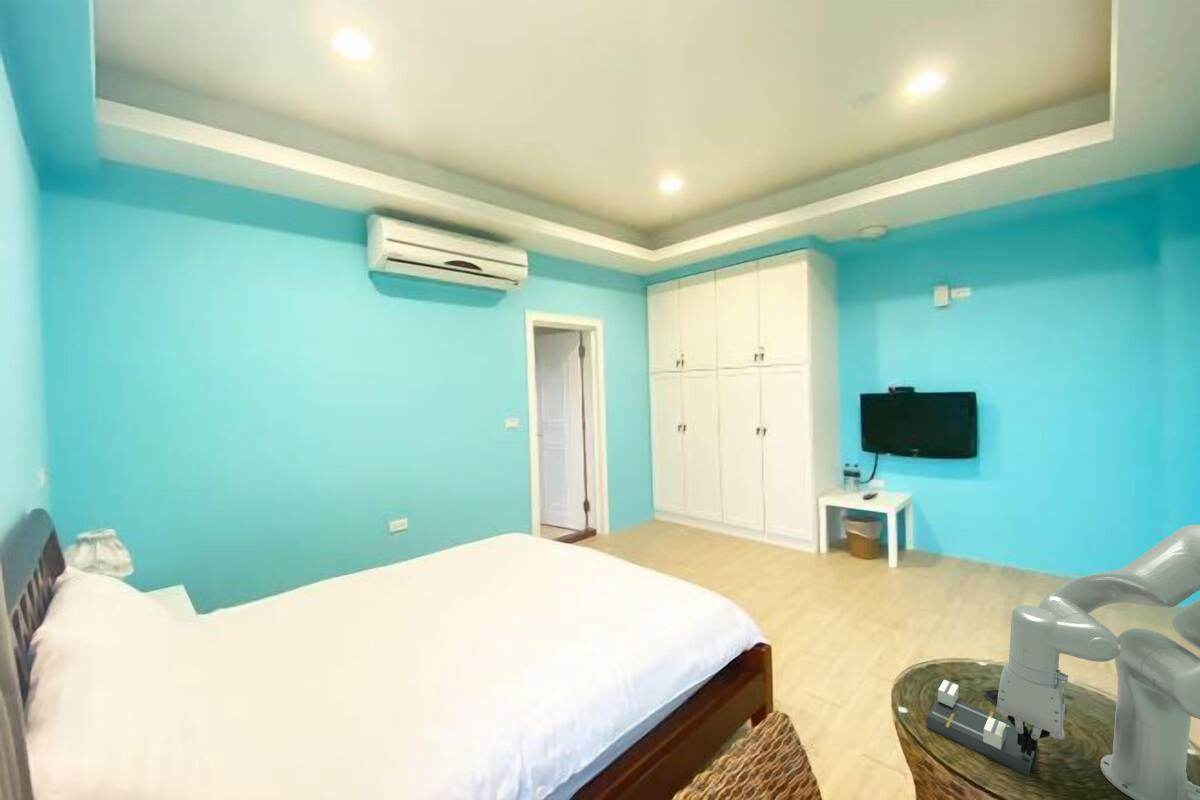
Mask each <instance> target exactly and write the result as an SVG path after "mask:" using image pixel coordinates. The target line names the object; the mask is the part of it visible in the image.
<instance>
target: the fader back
mask: <svg viewBox="0 0 1200 800" xmlns="http://www.w3.org/2000/svg"><path fill="white" fill-rule="evenodd" d="M959 687H960V686H959V685H958V684H956V683H953V682H952V681H948V680H946V679H943V680H942V682H941V684H940V686H939V687H938V689H937V698H938V701H939V702H941V703H943V704H946V705H948V706H950V707H952V708H953V706H954V704H955V702H956V700H958V699H959Z"/></svg>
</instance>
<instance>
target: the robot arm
mask: <svg viewBox="0 0 1200 800" xmlns="http://www.w3.org/2000/svg"><path fill="white" fill-rule="evenodd" d="M1199 591H1200V524H1189V525H1184V526H1183V527H1180V528H1179V529H1177V530H1175V531H1174V532H1172V533H1171V534H1169V535H1168V536H1166V537H1165V538H1164V539H1162V540H1161V541H1159V542H1158V543H1156V544H1154V546H1152V547H1151V548H1149V549H1148V550H1147V551H1145V552H1144V553H1142V554H1141V555H1139V556H1138V557H1137V558H1135V559H1133V560H1132V561H1131V562H1130V563H1127V564H1126V565H1125V566H1123V567H1122V568H1120V569H1116V570H1108V571H1101V572H1096V573H1093V574H1089V575H1088V574H1087V575H1083V576H1080V577H1076V578H1073V579H1071V580H1069V581H1067V582H1065V583H1063V584H1062V585H1061V586H1059V587H1058V588H1057V589H1055V590H1054V591H1052V592H1050V594H1048V595H1046V597H1045V598H1044V599H1043V600H1042V601H1041V602H1040V604H1039V605H1038V606H1034V605H1033V606H1032V605H1028V604H1027V605H1023V604H1022V605H1018V606H1015V608H1013V609H1012V612H1011V620H1010V621H1011V623H1010V638H1009V649H1008V650H1009V653H1008V661H1007V662H1005V663H1004V664H1003V667H1002V670H1001V674H1000V679H999V686H998V690H999V691H998V700H997V707H996V706H995V712H996V713H997V714H999V715H1000V716H1003V717H1004V718H1007V719H1008V721H1009V722H1011V723H1012V724H1013V725H1014V727H1015V728H1016V731H1017V732H1018V740H1017V744H1019V745H1021V752H1022V753H1026V754H1027V755H1028V756H1031V754H1032V751H1034V752H1035V753H1037V751H1038V741H1039V740H1040V739H1044V738H1048V737H1051V738H1055V739H1057V740H1065V736H1066V734H1065V731H1064V724H1065V717H1066V716H1065V715H1066V712H1065V707H1066V700H1065V690H1064V689H1065V688H1064V684H1063V682H1066V683H1068V681H1069V675H1068V674H1066V673H1064V672H1062V671H1061V669H1060V668H1059V667H1060V666H1059V664H1060V654H1063V655H1067V656H1071V657H1075V658H1077V659H1082V660H1085V661H1091V662H1096V663H1097V662H1101V663H1102V662H1105V663H1106V662H1109V661H1112V660H1114V662H1115V668H1116V674H1117V694H1116V704H1115V705H1116V706H1115V719H1114V728H1113V729H1114V731H1113V732H1114V733H1113V743H1112V744H1113V745H1112V754H1108V755H1107V754H1106V755H1104V756H1103V757H1101V760H1100V771H1101V773H1102V774H1103V776H1104V777H1105V778H1106V779H1107V780H1108V781H1109V782H1110V783H1111V784H1112V785H1113V786H1114V787H1115V788H1117V789H1118V790H1119V791H1120V792H1122V793H1123V794H1124V795H1126V796H1128V797H1130V798H1132V799H1133V800H1200V786H1198V785H1197V784H1194V783H1192V781H1190V780H1188V772H1186V771H1187V760H1188V750H1189V741H1190V740H1189V739H1190V732H1191V731H1190V730H1191V725H1192V724H1191V721H1192V718H1194V719H1197V720H1200V657H1199V656H1197V654H1195V653H1193V652H1192V651H1191V650H1189V649H1187V648H1186V647H1184V646H1183V645H1181V644H1180V643H1178V642H1176V641H1175V640H1174V639H1173V638H1170V637H1168V636H1166V635H1164V634H1162V633H1159V632H1158V631H1154V630H1151V629H1147V628H1141V627H1140V628H1138V627H1136V628H1130V629H1126V630H1124V631H1123V632H1121V633H1120V634H1119V635H1118V636H1116V634H1115V633H1114V632H1113V631H1112V630H1110V629H1109V628H1108V627H1107V626H1106V625H1104V624H1103V623H1101V622H1100V621H1098V620H1097V619H1096V618H1095V617H1093V616H1092V615H1091V613H1092V612H1093V611H1095V610H1097V609H1099V608H1101V607H1104V606H1108V605H1112V604H1121V603H1122V604H1123V603H1124V604H1125V603H1127V604H1135V605H1136V604H1137V605H1145V606H1150V607H1157V608H1158V607H1159V608H1175V607H1176V606H1178V605H1179V604H1181V603H1183V602H1184V601H1185V600H1186V599H1188V598H1190V597H1191V596H1192V595H1194V594H1195V593H1197V592H1199ZM1172 627H1173V630H1175V632H1176V633H1177V634H1178V635H1179V636H1180V637H1181V638H1182V639H1183V640H1184V641H1186V642H1187V643H1189V644H1190V645H1191V646H1193V647H1194V648H1196V649H1198V651H1200V597H1199V598H1198V599H1196V600H1194V601H1193V602H1191V603H1188V604H1187V605H1186V606H1184V607H1182V608H1181V609H1179V610H1178V611H1177V612H1176V614H1174V616H1173V617H1172ZM1026 724H1029V725H1031V726H1033V727H1032V728H1031V729H1028V727H1027V726H1026ZM1027 729H1028V730H1027ZM1029 730H1030V731H1029ZM1028 731H1029V734H1028ZM1026 749H1027V751H1026Z"/></svg>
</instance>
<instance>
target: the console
mask: <svg viewBox="0 0 1200 800" xmlns="http://www.w3.org/2000/svg"><path fill="white" fill-rule="evenodd" d="M994 713H995V712H994V711H991V710H990V712H988V711H985V710H983V709H981V708H978V707H976V706H973V705H972V704H970V703H967V702H964V701H961V700H960V699H957V700H956V702H955V704H954V706H953V708H952V707H950V706H948V705H946V704H943V703H941V702H939V701H938V697H937V698H936V700H935V701H934V703H933V705H932V707H931V709H929V712H928V713H927V716H926V728H927V729H929V730H931V731H933V732H935V733H938V734H939V735H942V736H943V737H945V738H948V739H950V740H952V741H953V742H956V743H957V744H960V745H962V746H965V748H966V747H967V748H969V749H971V750H972V751H975V752H977V753H979V754H981V755H983V756H985V757H988V758H989V759H992V760H994V761H996V762H998V763H1000V764H1002V765H1003V766H1006V767H1008V768H1010V769H1012V770H1015V771H1016V772H1019V773H1021V774H1023V775H1025V776H1027V777H1029V776H1030V773H1031V768H1032V765H1033V760H1034V759H1035V758H1034V757H1035V754H1036V752H1034V751H1032V754H1031V756H1028V755H1027V754H1026V753H1022V752H1021V745H1019V744H1017V740H1018V732H1017V731H1016V728H1015V727H1014V725H1013V724H1012V723H1011V722H1010V721H1009V720H1007V719H1004V718H1002V717H1000V716H997V715H995V714H994ZM988 717H991V718H994V719H997V720H999V721H1001V722H1003V723H1005V724H1006V737H1005V740H1004V742H1003V745H1002V748H1001V750H1000V749H998V748H996V747H994V746H992V745H990V744H987V743H985V742H983V735H984V727H985V725H986V722H987V720H988ZM1027 730H1029V731H1030V730H1031V729H1028V728H1027ZM1029 731H1028V734H1029ZM1026 751H1027V749H1026Z"/></svg>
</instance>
